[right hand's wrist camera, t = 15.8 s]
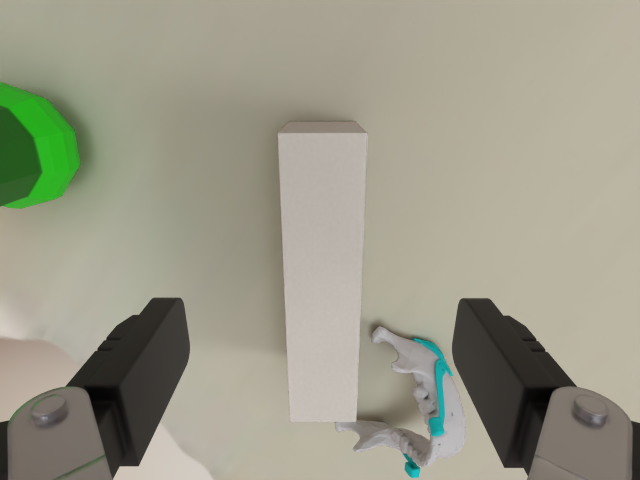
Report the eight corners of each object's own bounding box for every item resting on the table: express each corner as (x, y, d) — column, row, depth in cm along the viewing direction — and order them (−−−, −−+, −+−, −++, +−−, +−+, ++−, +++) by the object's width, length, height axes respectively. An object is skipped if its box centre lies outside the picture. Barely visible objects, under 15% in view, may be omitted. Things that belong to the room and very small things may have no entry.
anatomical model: (443, 509, 40) (353, 511, 37) (405, 426, 49) (331, 422, 47) (506, 398, 35) (406, 391, 32) (450, 328, 44) (369, 318, 41)
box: (288, 121, 34) (277, 132, 26) (356, 121, 34) (368, 132, 26) (295, 355, 44) (289, 422, 35) (349, 355, 44) (356, 422, 35)
